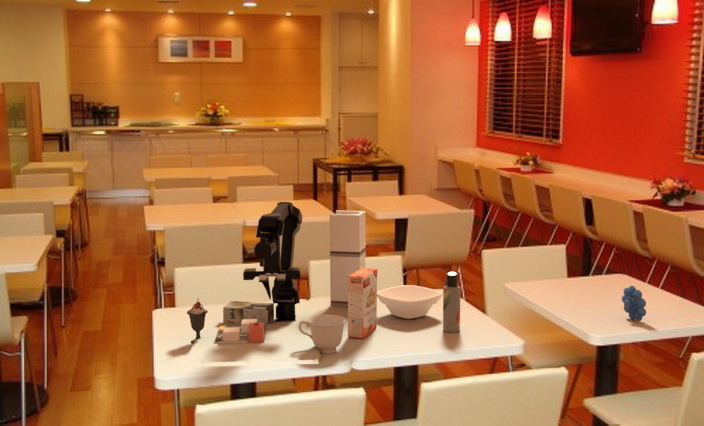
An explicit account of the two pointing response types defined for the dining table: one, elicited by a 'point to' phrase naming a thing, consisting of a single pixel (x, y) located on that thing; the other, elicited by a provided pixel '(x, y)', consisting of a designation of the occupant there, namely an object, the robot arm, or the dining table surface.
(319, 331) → the teacup
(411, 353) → the dining table surface
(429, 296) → the bowl
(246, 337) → the panel
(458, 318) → the lotion bottle
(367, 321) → the cracker box
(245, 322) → the block
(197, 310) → the sundae
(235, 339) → the block
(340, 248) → the white banded column
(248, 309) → the coffee box
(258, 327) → the orange rectangular prism
